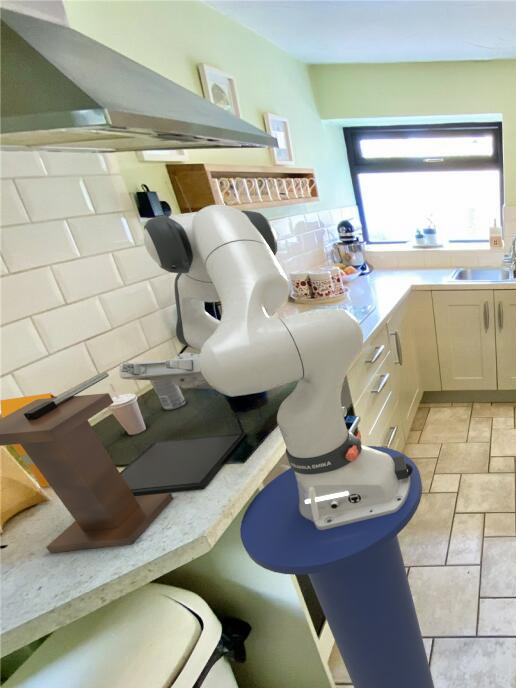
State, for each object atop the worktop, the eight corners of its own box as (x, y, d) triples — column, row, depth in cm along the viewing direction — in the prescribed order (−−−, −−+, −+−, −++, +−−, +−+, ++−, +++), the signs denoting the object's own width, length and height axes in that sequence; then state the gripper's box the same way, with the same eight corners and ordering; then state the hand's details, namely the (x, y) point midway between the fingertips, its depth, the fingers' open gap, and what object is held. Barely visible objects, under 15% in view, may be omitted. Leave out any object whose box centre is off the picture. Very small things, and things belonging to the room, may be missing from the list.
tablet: (247, 436, 106) (246, 432, 106) (204, 489, 88) (202, 485, 88) (157, 444, 105) (155, 440, 104) (94, 500, 87) (91, 496, 86)
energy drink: (179, 399, 126) (162, 363, 120) (190, 403, 124) (172, 366, 118) (160, 408, 122) (141, 371, 116) (170, 411, 120) (151, 374, 114)
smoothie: (145, 422, 115) (120, 376, 109) (157, 427, 112) (132, 381, 106) (117, 434, 110) (89, 387, 104) (129, 439, 107) (101, 392, 101)
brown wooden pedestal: (173, 498, 86) (114, 392, 75) (132, 544, 76) (56, 429, 64) (102, 505, 85) (31, 399, 74) (50, 553, 75) (-42, 438, 63)
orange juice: (64, 466, 98) (13, 392, 89) (108, 458, 100) (63, 385, 91) (41, 487, 92) (-16, 409, 82) (89, 478, 94) (38, 401, 84)
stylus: (111, 376, 82) (108, 370, 81) (36, 419, 67) (32, 412, 67) (103, 376, 81) (100, 371, 81) (27, 420, 67) (22, 413, 67)
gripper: (147, 361, 104) (95, 355, 91) (231, 355, 106) (193, 347, 92) (148, 386, 104) (96, 384, 90) (233, 379, 105) (195, 376, 92)
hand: (146, 365), depth 91 cm, fingers open, 8 cm apart
